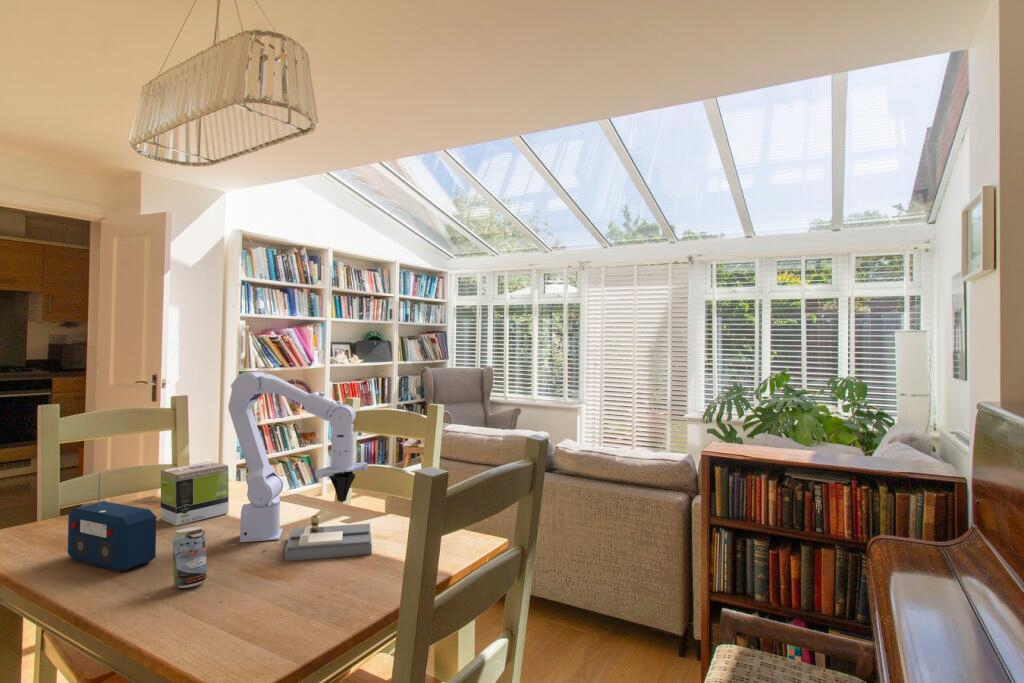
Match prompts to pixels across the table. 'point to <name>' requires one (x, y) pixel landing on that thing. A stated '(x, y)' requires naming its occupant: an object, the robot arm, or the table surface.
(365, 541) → the case
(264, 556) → the table surface
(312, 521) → the key
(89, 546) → the radio
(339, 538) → the cover
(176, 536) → the beverage can
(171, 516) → the tea box
